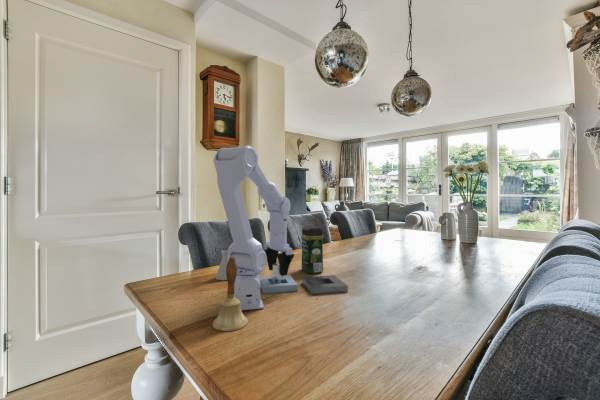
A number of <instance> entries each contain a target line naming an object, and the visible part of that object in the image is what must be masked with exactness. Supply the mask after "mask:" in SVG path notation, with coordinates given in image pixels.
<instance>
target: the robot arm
mask: <svg viewBox="0 0 600 400" xmlns="http://www.w3.org/2000/svg"><path fill="white" fill-rule="evenodd" d="M213 164H214V168H215V172H216V175H217V176H216V182H217V187H218V190H219V195H220V198H221V201H222V205H223V209H224V211H225V216H226V220H227V223H228V226H229V230H230V234H231V235H230V236H231V238H232V243H231V244H229V246H228V247H227V250H228V252H229V257H235V262H236V265H237V276H236V279H235V284H234V290H235V291H234V292H235V293H234V297H235V298H236V299H239V300H240V306H241V311H249V310H250V311H251V310H258V309H259V310H260V309H261V310H262V309H264V308H265V306H264V302H263V300H262V298H261V286H260V277H261V273H263V271H264V270H265V268H266V266H268V270H269V271H273V264H275V263H277V262H278V263H279V266H280V275H281V276H284V275H285V276H286V275H288V271H289V269H290V265H291V263H292V261H293V258H294V257H295V254H294V253H293V248H292V247H290V244H288V241H287V239H288V237H287V236H288V230H287V229H288V227H287V226H288V219H289V216H290V215H289V214H290V211H291V207H292V206H291V201H290V199H289V198H288V197H286V196H283V194H282V193H281V192H280V190H279V189H278V187H277V186H276V184H275V182H273V181H271V180H268V179H267V178H266V175H265V173H264V172H263V171H262V169H261V167H260V165H259V155H258V154H257V153H256V151H255V149H254V148H253V147H252V146H251V145H245V146H234V147H220V148H219V149H218V150H217V151H216V153H215V155H214V157H213ZM247 178H249V179H250V180H251V181H252V182H253V183H254V185H255V186H256V187H257V193H258V195H259V197H261V199H262V201H264V204H265V207H266V211H267V212H268V213H269V241H266V242H265V245H264V247H265V249H264V248H263V245H262V243H261V242H260V241H259V240H257V239H256V238H255V237H254V234H253V231H252V227H251V223H250V220H249V215H248V211H247V206H246V203H245V199H244V198H245V197H244V195H243V190H242V186H241V184H242V182H244V181H245V180H246V179H247Z"/></svg>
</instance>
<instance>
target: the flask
mask: <svg viewBox="0 0 600 400" xmlns="http://www.w3.org/2000/svg"><path fill="white" fill-rule="evenodd" d="M220 253H221V261H220V264H219V268H218V270H217V273H216V275H215V280H217V281H227V277H226V267H227V263H228V261H229V252H228V249H227V250H221V252H220Z"/></svg>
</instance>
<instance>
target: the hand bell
mask: <svg viewBox="0 0 600 400" xmlns="http://www.w3.org/2000/svg"><path fill="white" fill-rule="evenodd" d="M236 276H237V265H236V262H235V257H229V261H228V263H227V267H226V277H227V280H226V281H227V293H226V298H225V299H222V301H221V302H220V308H219V312H218V315H217V317H216V318H215V319H214V320H213V322H212V324H211V326H212V327H213V328H214V330H216V331H221V332H232V331H239V330H242V329H243V328H245V327H246V326H247V325H248V323H249V320H248V318H247V317H246V316H245V315H244V313H243V310H241V306H240V300H239V299H236V298H235V279H236Z"/></svg>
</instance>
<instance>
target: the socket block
mask: <svg viewBox="0 0 600 400" xmlns="http://www.w3.org/2000/svg"><path fill="white" fill-rule="evenodd" d="M301 283H302V285H303V286H304V287H305V288H306V290H307V291H308V292H309V293H310V295H313V296H315V295H326V294H336V293H337V294H339V293H347V292H349V285H348V284H347V283H345V282H344V281H342V279H340V278H339V277H338V276H336V275H331V274H330V275H319V276H318V275H317V276H304V277H302V278H301Z"/></svg>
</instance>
